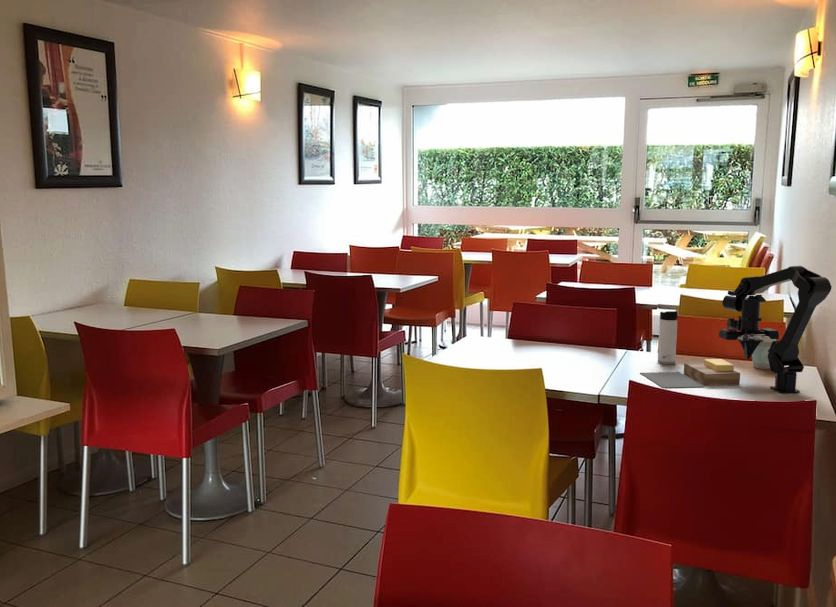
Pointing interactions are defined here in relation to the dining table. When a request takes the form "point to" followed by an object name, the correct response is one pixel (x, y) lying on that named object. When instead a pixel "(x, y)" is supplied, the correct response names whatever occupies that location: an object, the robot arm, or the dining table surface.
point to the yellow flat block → (718, 365)
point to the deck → (710, 375)
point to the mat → (671, 380)
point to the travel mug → (667, 337)
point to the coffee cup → (762, 353)
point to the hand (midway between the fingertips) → (747, 358)
